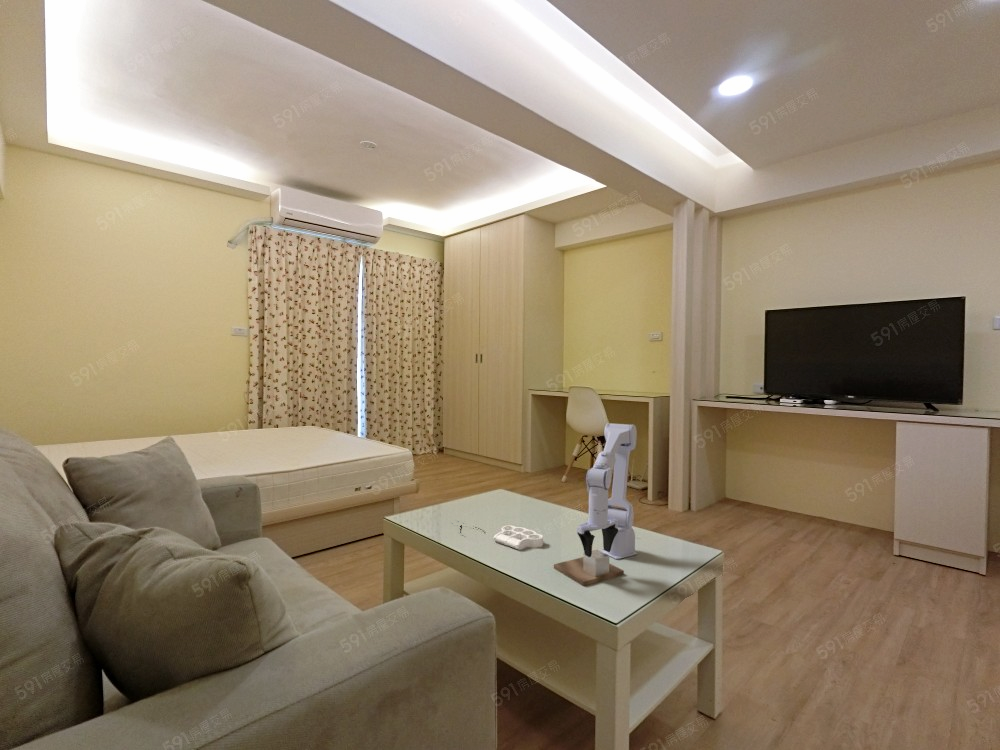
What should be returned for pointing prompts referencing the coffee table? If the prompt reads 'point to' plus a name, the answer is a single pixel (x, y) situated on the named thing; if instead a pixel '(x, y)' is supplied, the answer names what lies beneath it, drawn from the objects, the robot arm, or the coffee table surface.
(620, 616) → the coffee table surface
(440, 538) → the coffee table surface
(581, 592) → the coffee table surface
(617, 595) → the coffee table surface
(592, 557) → the brushed aluminum cube
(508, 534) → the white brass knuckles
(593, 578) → the walnut board
